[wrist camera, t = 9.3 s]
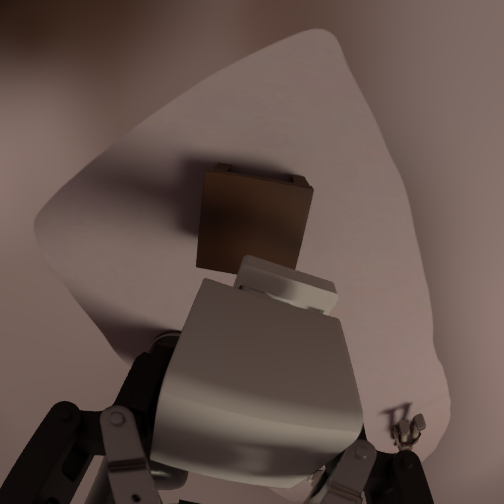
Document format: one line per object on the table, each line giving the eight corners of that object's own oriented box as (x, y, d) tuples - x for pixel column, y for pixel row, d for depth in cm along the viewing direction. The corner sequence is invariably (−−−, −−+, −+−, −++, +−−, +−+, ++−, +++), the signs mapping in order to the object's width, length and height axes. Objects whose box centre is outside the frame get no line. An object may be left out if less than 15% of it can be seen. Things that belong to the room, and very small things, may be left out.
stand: (288, 255, 33) (291, 283, 27) (208, 242, 32) (195, 267, 27) (306, 176, 29) (314, 189, 23) (217, 161, 29) (204, 171, 23)
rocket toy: (327, 466, 56) (329, 492, 49) (330, 472, 58) (333, 497, 51) (306, 470, 57) (307, 496, 50) (310, 476, 59) (312, 500, 52)
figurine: (429, 427, 38) (419, 454, 47) (422, 402, 43) (414, 435, 52) (399, 438, 39) (395, 462, 48) (392, 413, 44) (391, 443, 53)
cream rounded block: (219, 237, 16) (157, 387, 7) (339, 276, 16) (388, 431, 7) (194, 324, 18) (147, 463, 9) (296, 353, 19) (302, 493, 10)
